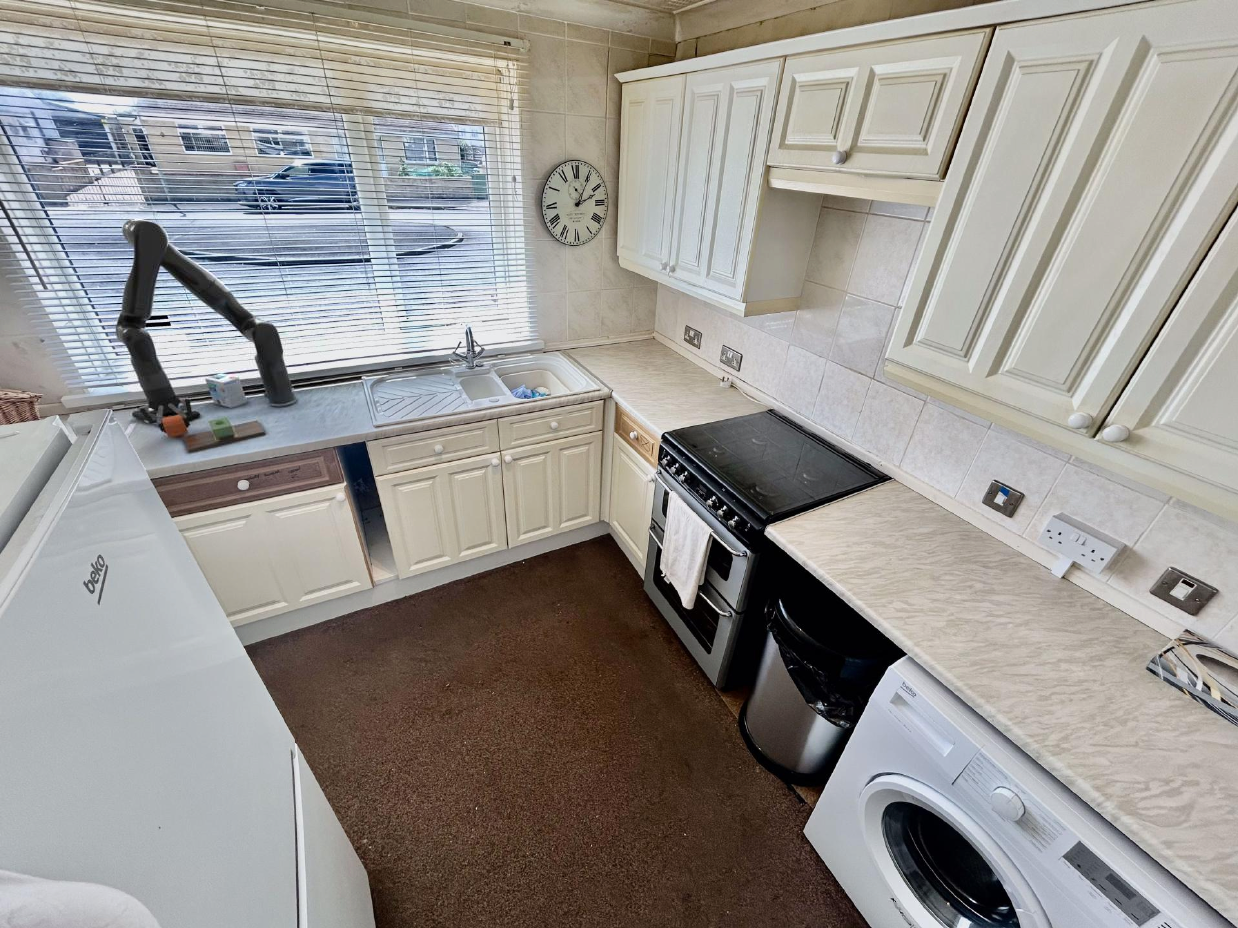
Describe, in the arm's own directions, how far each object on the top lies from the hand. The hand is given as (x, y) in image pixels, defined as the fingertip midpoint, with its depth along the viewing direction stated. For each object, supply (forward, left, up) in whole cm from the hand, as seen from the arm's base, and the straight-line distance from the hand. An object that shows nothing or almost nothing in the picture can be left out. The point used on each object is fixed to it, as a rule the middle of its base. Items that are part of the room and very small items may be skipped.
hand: (176, 429), depth 182 cm
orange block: (0, 0, 0) cm, 1 cm away
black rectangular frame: (-19, 0, -2) cm, 19 cm away
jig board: (+12, +12, -2) cm, 17 cm away
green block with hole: (+12, +12, -1) cm, 17 cm away
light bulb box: (-21, +19, -2) cm, 29 cm away
